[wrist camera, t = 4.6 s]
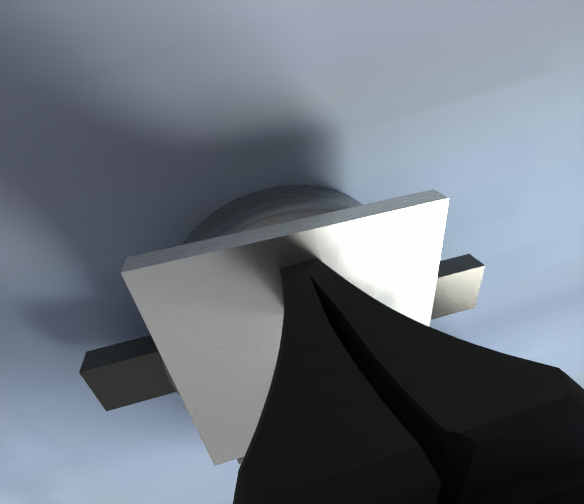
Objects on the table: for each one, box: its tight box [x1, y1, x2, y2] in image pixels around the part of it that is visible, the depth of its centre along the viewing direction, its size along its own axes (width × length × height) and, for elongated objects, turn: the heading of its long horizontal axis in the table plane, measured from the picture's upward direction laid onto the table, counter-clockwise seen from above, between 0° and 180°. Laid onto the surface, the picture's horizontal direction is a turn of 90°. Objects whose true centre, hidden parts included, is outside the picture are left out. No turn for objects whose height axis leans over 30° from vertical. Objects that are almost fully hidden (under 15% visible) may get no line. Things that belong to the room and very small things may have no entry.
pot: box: [79, 185, 485, 411], centre depth 15 cm, size 12×17×3 cm
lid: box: [121, 190, 449, 466], centre depth 13 cm, size 12×10×2 cm
